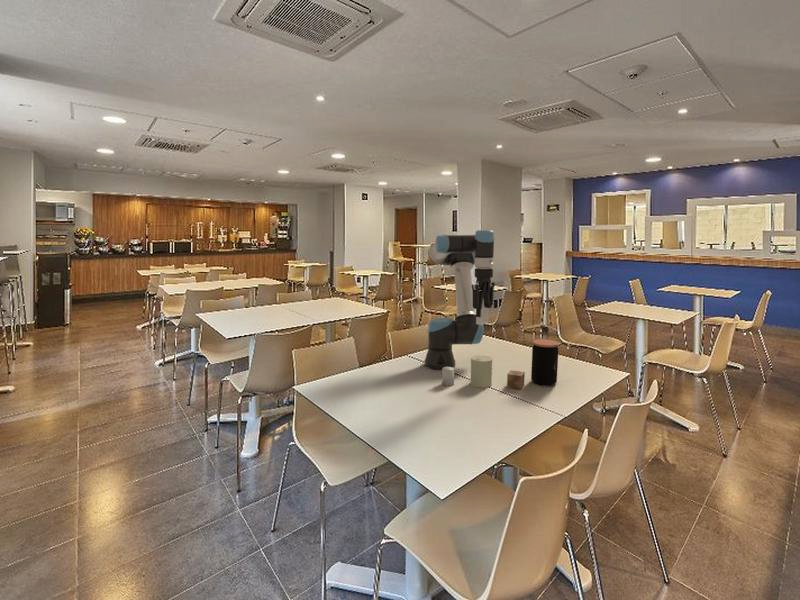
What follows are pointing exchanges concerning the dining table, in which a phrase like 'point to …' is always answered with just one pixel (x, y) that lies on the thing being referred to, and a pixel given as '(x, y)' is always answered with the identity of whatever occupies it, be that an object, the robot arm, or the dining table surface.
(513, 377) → the walnut block
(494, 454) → the dining table surface
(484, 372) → the can
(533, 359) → the coffee jar
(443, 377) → the grey cylinder
